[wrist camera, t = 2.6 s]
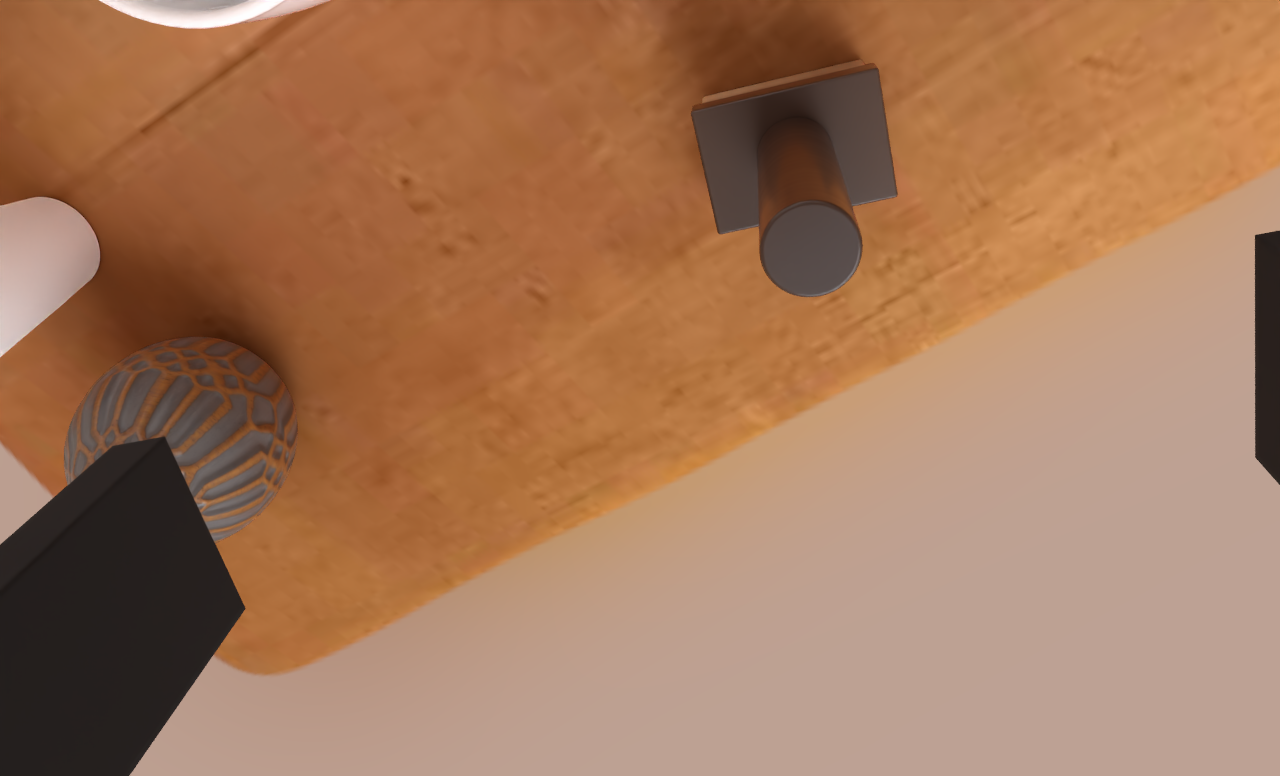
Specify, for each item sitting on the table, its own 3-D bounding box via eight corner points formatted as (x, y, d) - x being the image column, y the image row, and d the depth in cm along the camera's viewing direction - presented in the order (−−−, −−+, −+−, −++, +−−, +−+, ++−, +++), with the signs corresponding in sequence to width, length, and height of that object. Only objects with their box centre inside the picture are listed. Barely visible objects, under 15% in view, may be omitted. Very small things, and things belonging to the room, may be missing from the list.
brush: (867, 52, 32) (926, 135, 22) (886, 172, 34) (950, 307, 23) (695, 93, 33) (668, 192, 23) (720, 208, 35) (707, 353, 24)
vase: (145, 459, 41) (2, 594, 33) (138, 295, 38) (-21, 401, 30) (319, 492, 41) (218, 636, 33) (325, 330, 38) (215, 446, 30)
